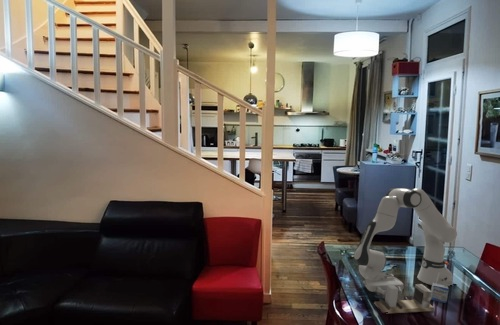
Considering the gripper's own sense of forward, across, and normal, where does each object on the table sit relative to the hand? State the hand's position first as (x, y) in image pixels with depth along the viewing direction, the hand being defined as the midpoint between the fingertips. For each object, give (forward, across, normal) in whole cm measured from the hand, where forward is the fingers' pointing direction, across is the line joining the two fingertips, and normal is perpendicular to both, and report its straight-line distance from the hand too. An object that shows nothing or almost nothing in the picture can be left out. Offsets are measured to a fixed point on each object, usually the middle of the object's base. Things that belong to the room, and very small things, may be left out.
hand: (392, 292), depth 189 cm
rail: (0, +8, +9) cm, 12 cm away
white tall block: (0, 0, +7) cm, 7 cm away
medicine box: (-6, +34, +9) cm, 36 cm away
